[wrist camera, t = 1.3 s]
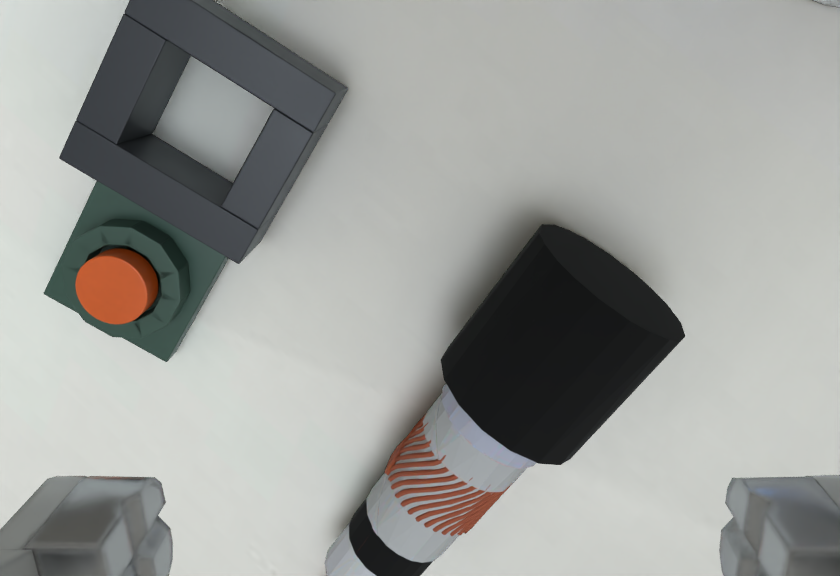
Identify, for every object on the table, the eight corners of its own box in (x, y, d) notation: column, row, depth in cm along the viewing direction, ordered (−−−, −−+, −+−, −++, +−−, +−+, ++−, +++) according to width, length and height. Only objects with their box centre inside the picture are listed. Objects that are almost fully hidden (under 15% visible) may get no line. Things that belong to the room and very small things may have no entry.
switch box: (110, 173, 44) (82, 184, 41) (234, 247, 46) (218, 263, 42) (56, 285, 47) (27, 303, 44) (175, 352, 48) (155, 374, 45)
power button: (105, 234, 42) (92, 242, 41) (170, 271, 43) (159, 280, 41) (78, 291, 44) (63, 301, 42) (141, 326, 44) (129, 337, 43)
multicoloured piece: (321, 536, 58) (238, 597, 49) (568, 220, 45) (514, 228, 36) (405, 630, 55) (332, 713, 47) (695, 322, 42) (669, 358, 33)
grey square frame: (178, -23, 40) (143, -32, 36) (348, 87, 42) (336, 93, 37) (100, 146, 44) (58, 158, 39) (260, 242, 45) (238, 264, 41)
